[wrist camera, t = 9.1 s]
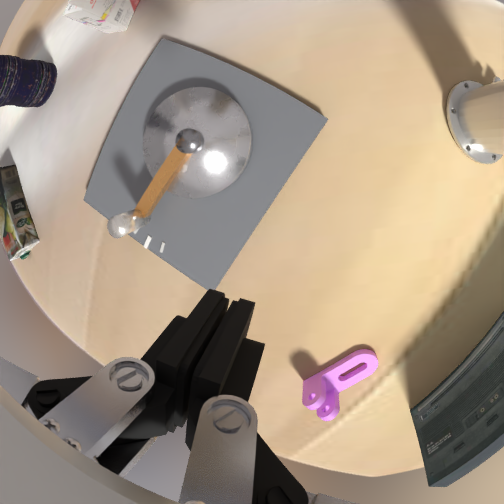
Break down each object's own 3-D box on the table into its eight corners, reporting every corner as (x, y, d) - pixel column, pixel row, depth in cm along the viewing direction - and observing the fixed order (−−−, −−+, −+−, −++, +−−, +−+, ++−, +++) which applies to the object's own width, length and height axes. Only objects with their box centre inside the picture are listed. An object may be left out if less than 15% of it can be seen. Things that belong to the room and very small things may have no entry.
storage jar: (64, 69, 34) (5, 58, 20) (43, 114, 37) (-16, 114, 23) (43, 58, 33) (-9, 49, 19) (25, 99, 37) (-28, 98, 23)
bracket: (321, 395, 45) (321, 424, 39) (303, 380, 45) (301, 409, 38) (382, 361, 41) (390, 389, 35) (366, 343, 40) (374, 371, 34)
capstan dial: (192, 72, 30) (163, 53, 22) (276, 132, 31) (269, 123, 23) (113, 191, 37) (76, 200, 29) (181, 252, 38) (153, 274, 30)
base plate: (168, 42, 31) (161, 37, 29) (326, 121, 32) (328, 118, 29) (91, 198, 41) (82, 200, 38) (216, 287, 41) (212, 293, 39)
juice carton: (43, 244, 46) (22, 253, 41) (27, 258, 49) (8, 267, 43) (18, 163, 42) (-3, 166, 36) (3, 184, 45) (-16, 188, 39)
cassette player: (427, 416, 44) (446, 486, 25) (409, 410, 44) (428, 486, 25) (518, 319, 34) (568, 377, 15) (507, 305, 34) (563, 366, 15)
